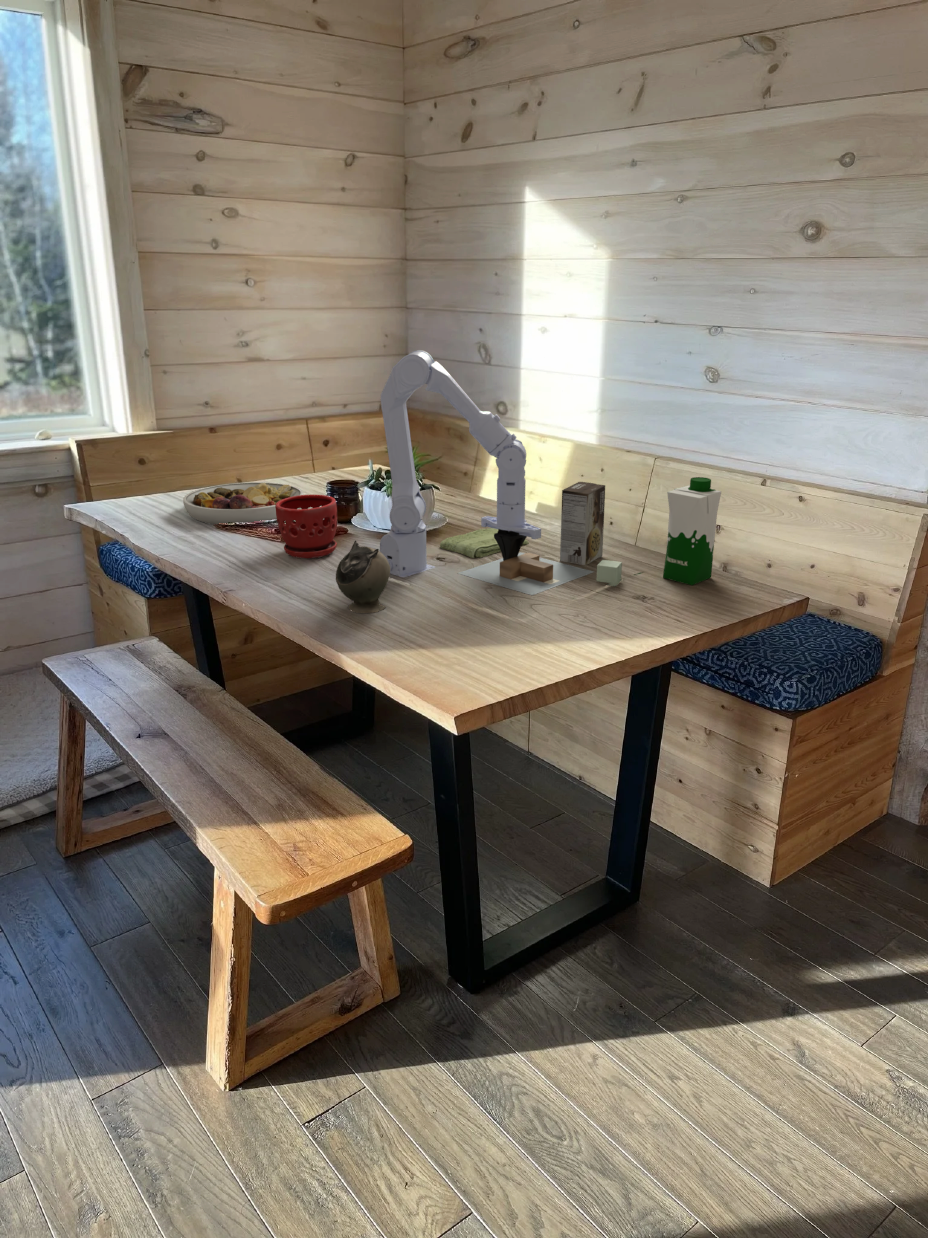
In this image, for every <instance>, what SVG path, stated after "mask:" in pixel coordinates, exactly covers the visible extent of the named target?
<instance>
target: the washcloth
mask: <svg viewBox="0 0 928 1238" xmlns="http://www.w3.org/2000/svg"><path fill="white" fill-rule="evenodd" d="M495 533H498V529H494V528H490V527H487V528H479V529H477V530H474V531H470V532H467V533H464V534H458V535H457V534H456V535H453V536H450V537H446V538H445V539H443V540H442V541H440V543H439V547H440V548H441V549H443V550H446V551H450V552H454V553H458V554H461V555H463V556H466V557H469V558H470V559H477V558H485V557H488V556H492V555H493V554H497V553H501V550H500V548H499V545H498V543H497V541H496V540H495V538H494V534H495ZM529 544H530V543H529V540H527V539H525V541H524V542H523V544H522V546H525V545H529Z"/></svg>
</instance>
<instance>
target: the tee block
mask: <svg viewBox="0 0 928 1238" xmlns="http://www.w3.org/2000/svg"><path fill="white" fill-rule="evenodd" d="M540 558H541V557H540V554H535V553H532V552H526V553H525V554H523V555H520V556H517V557H514V558H511V559H508V560H505V561H502V562H500V576H501V577H504V578H508V579H513V578H516V577H519V576H522V577H526V578H529V579H533V580H537V581H540V582H546V581H549V580H551V579H553V564H549V563H545V562H541V561H539V559H540Z"/></svg>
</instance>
